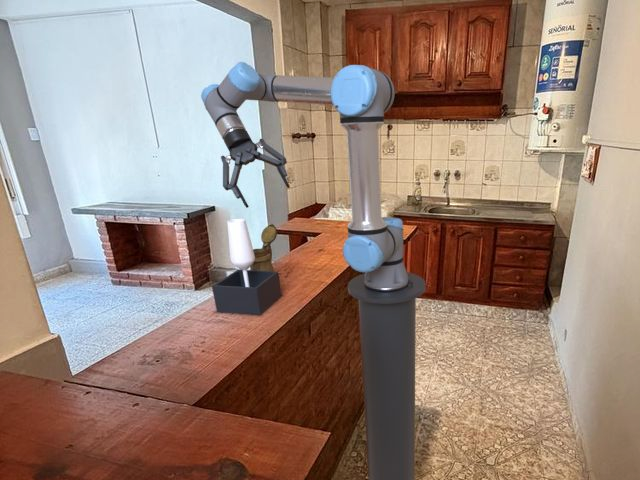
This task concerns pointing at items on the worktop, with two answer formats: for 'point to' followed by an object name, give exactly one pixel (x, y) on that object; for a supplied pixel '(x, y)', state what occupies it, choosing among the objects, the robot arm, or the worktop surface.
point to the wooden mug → (265, 250)
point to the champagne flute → (240, 246)
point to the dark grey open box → (247, 292)
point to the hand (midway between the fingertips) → (267, 196)
